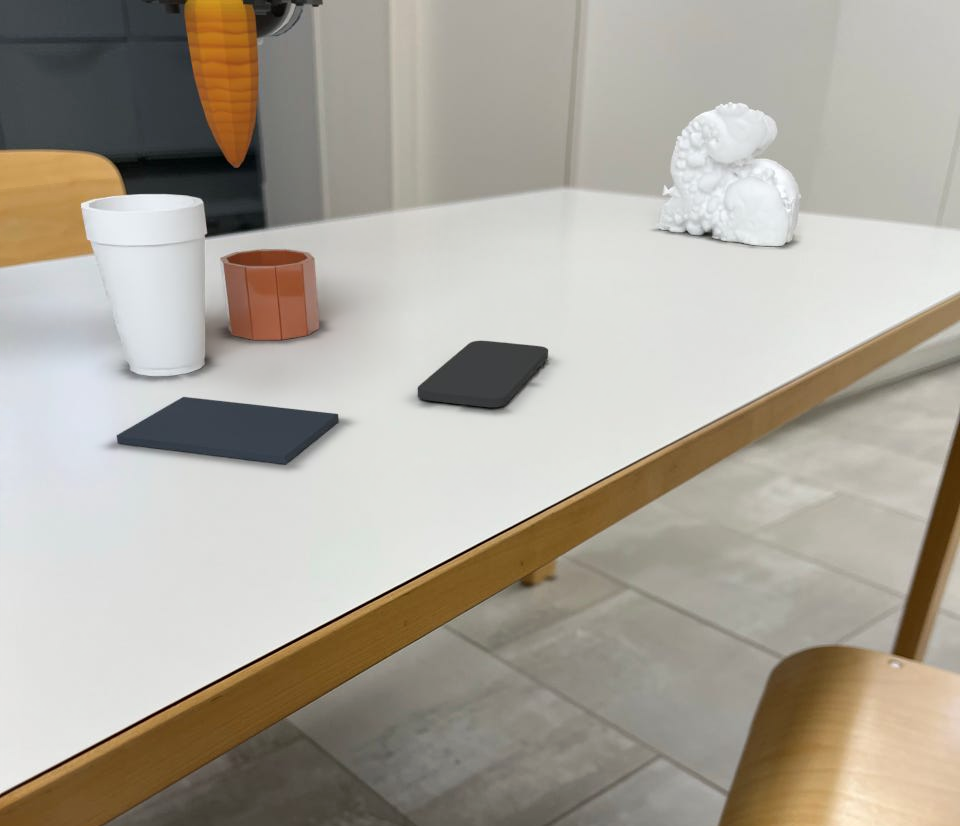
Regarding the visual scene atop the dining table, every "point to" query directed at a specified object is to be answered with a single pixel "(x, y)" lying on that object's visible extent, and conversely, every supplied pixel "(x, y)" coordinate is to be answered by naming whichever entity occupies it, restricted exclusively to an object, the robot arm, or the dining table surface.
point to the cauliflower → (730, 180)
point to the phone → (484, 374)
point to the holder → (270, 294)
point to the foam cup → (153, 277)
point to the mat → (230, 429)
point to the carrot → (225, 70)
